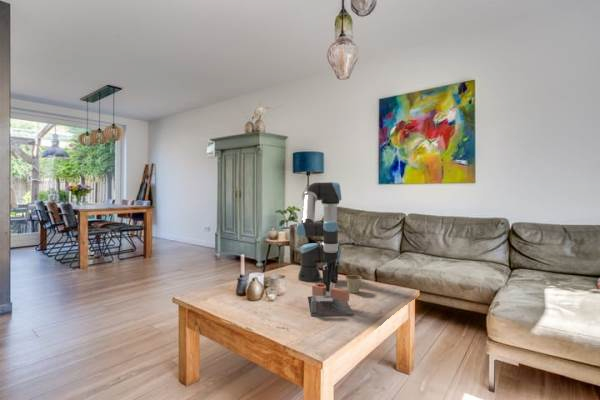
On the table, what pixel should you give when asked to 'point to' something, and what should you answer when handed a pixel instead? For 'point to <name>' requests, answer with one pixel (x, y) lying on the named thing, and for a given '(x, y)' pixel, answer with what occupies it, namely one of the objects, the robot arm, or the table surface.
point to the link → (335, 292)
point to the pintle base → (328, 306)
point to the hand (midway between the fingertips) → (330, 296)
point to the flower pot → (353, 283)
